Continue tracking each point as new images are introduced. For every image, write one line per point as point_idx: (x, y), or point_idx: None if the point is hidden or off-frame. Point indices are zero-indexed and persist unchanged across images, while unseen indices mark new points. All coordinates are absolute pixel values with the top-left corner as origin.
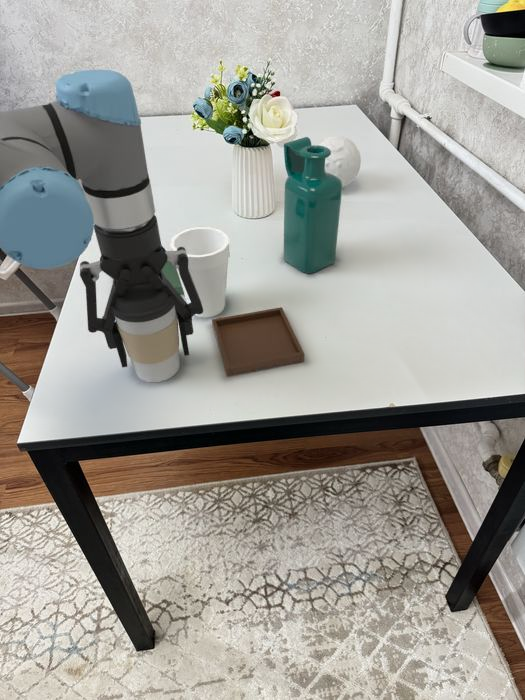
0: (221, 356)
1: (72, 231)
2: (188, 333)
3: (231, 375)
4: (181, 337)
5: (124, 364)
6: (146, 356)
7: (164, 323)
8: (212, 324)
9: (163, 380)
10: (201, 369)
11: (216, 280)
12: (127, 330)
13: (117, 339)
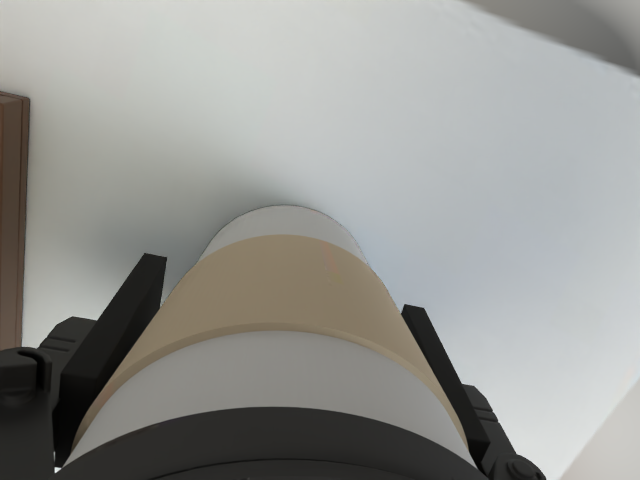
0: (20, 216)
1: None
2: (89, 325)
3: (7, 93)
4: (133, 312)
5: (416, 312)
6: (347, 267)
7: (183, 370)
8: None
9: (288, 205)
10: (126, 193)
11: None
12: (448, 416)
13: (459, 408)
